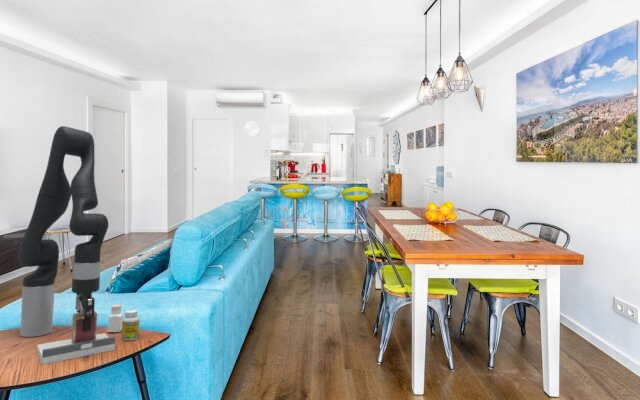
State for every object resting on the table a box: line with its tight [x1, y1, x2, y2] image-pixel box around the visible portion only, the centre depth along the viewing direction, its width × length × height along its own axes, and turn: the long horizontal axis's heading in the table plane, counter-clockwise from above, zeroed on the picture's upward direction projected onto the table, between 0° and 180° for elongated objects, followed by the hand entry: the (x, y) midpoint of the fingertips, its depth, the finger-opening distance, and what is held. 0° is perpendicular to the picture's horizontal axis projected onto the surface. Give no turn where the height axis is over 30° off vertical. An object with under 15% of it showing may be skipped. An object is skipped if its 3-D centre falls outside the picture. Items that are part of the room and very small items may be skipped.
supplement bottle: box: [121, 309, 140, 341], centre depth 134 cm, size 5×5×10 cm
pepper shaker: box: [107, 304, 124, 333], centre depth 140 cm, size 4×4×10 cm
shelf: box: [36, 332, 116, 365], centre depth 121 cm, size 13×19×4 cm
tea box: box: [70, 310, 98, 344], centre depth 121 cm, size 4×6×10 cm
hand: (83, 327), depth 121 cm, fingers open, 8 cm apart
